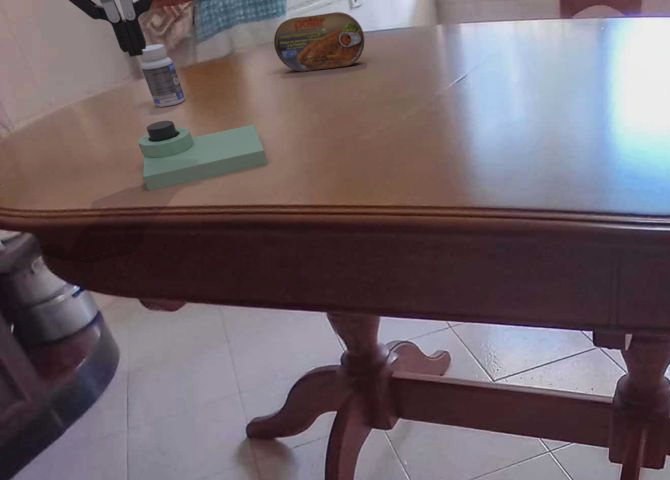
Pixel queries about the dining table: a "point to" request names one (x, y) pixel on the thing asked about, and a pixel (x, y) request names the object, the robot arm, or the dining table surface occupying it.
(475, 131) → the dining table surface
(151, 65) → the pill bottle
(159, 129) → the button
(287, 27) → the tin
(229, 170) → the scale
